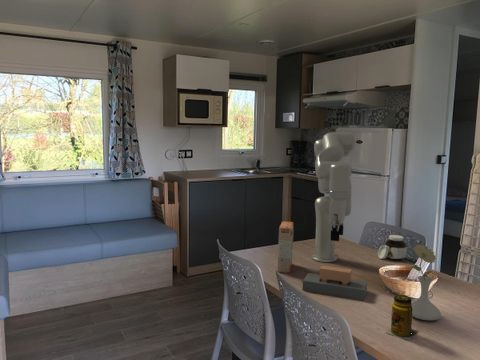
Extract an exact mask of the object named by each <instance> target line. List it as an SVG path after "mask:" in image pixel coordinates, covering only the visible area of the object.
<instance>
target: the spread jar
mask: <svg viewBox="0 0 480 360" xmlns="http://www.w3.org/2000/svg"><path fill="white" fill-rule="evenodd" d="M404 238H405V237H404V236H402V235H399V234H389V235H388V239H387V240H386V241H385V244H384V245H380V247H379V248H378V250H377V257H378V258H379V259H380V260H384V259H387V260H389V261H393V262H394V261H395V262H401V261H404V259H406V257H407V253H408V252H407V249H408V248H407V243H406V242H405V240H404Z"/></svg>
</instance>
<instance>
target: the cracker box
mask: <svg viewBox="0 0 480 360" xmlns="http://www.w3.org/2000/svg"><path fill="white" fill-rule="evenodd" d="M293 246H294V222H293V221H281V224H280V225H279V228H278V251H277V273H283V274H285V273H286V274H290V272H291V270H292V269H291V268H292V265H293V249H294V247H293Z"/></svg>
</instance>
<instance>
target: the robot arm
mask: <svg viewBox="0 0 480 360" xmlns="http://www.w3.org/2000/svg"><path fill="white" fill-rule="evenodd" d="M355 145H356V139H355V136H354V134H352V132H347V131H346V132H344V131H343V132H341V131H340V132H339V131H334V132H333V131H332V132H331V131H330V132H327V133H325V134H324V135H323V136H322V139H317V140H316V141H315V142H314V145H313V151H314V155H315V161H314V165H315V166H314V167H315V175H316V178H317V179H318V180H317V181H318V182H317V183H318V184H317V185H318V191H319V193H321V194H325V195H327V194H328V196H320V197H317V198H316V199H315V202H314V208H315V209H314V210H315V241H314V242H315V245H314V247H315V249H314V253H313V254H312V255H311V259H312V260H314V261H317V262H320V263H333V262H337V260H338V256H337V255H336V254H335V249H336V247H335V246H336V242H339V241H340V236H343V235H344V222H345V218H346V217H348V216H350V215H351V211H352V180H351V178H350V177H351V176H352V173H353V172H352V166H351V165H350V163H349V162H348V161H347V162H346V161H341V160H342V159H343V157H345V158H347V157H349V156H350V155H351V153H352V152H353V151H354V149H355Z"/></svg>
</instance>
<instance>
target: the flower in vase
mask: <svg viewBox="0 0 480 360" xmlns="http://www.w3.org/2000/svg"><path fill="white" fill-rule="evenodd" d="M413 251H414V252H415V254H416V255H417V257H418V258H420V262H419V266H418V265H416V264H414V265H412V267H411V268H412V269H414V270H416V271H417V272H421V274H422V275H420V276H417V279H418V281H419V283H420V297H419V298H418V299H416V300H414V301H412V302H411V303H412V305H411V306H412V308H413V310H412V318H416V319H418V320H423V321H436V320H439V319H440V318H441V317H442V313H441V311H440V309H439V308H438V307H437V306H436V305H435V304H434V303H432V302H431V301H430V299H429V289H430V286H431V283H432V282H433V281H434V278H432V277H431V276H427V275H429V274H431V273H432V272H433V270H428V271H426V272H424V273H423V270H422V267H421V266H422V262H423V261H424V262H425V263H427V264H433V263H436V260H437V259H436V255H435V252H434V251H433V250H432V249H430V248H429V247H428V246H427V245H426V246H424V244H416V245H414V249H413ZM425 275H426V276H425Z"/></svg>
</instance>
